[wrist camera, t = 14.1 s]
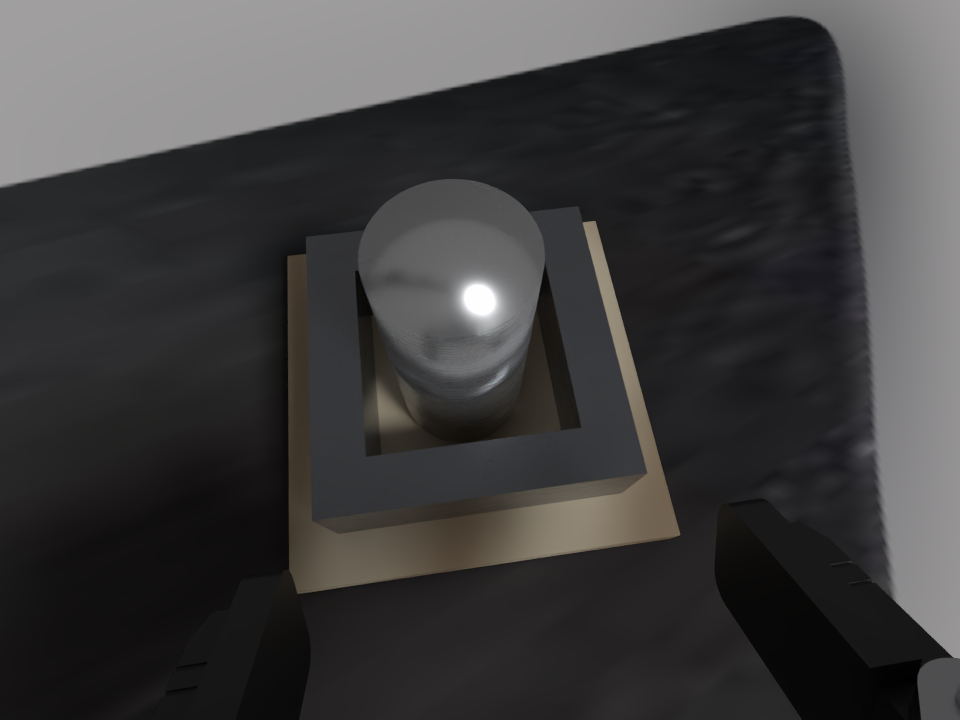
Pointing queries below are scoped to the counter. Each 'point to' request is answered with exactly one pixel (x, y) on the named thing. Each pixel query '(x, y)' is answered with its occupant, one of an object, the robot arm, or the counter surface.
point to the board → (477, 537)
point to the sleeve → (478, 465)
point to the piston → (454, 301)
